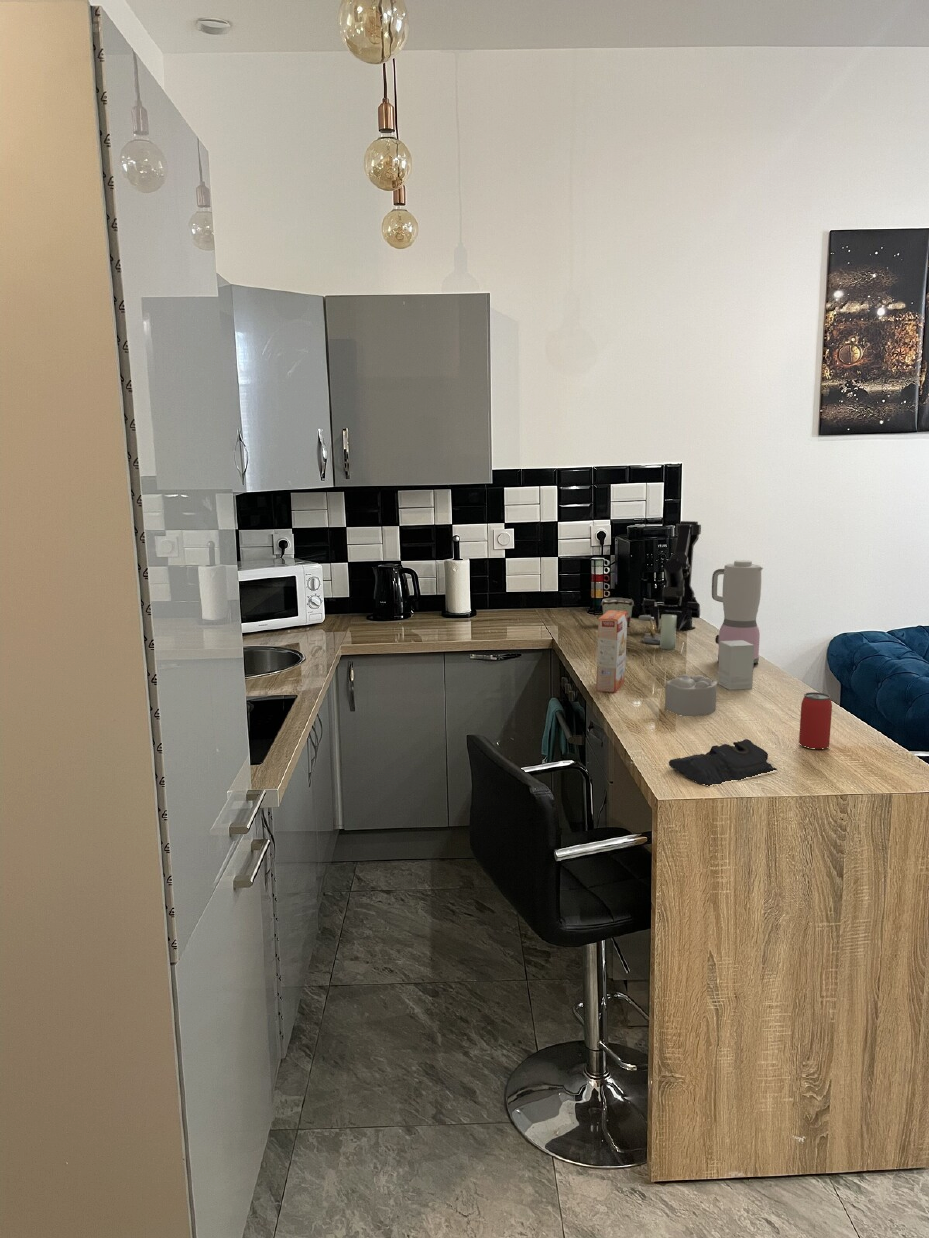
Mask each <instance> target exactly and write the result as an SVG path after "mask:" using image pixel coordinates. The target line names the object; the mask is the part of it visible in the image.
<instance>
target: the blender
mask: <svg viewBox="0 0 929 1238" xmlns="http://www.w3.org/2000/svg"><path fill="white" fill-rule="evenodd" d="M763 569H764V568H763V567H762V566H761V565H759V564H755V563H754V564H753V562H752V561H751V560H747V559H746V560H745V559H738V560H737V559H735V560H734V562H733V563H725V565H724V568H718V569H717V568H716V570H714V571H713V573H712V577H711V598H712V599H713V600H714V601H716V602H719V603H722V606H723V622H722V624H721V626H720V628H719V630H718V631H719V633H718V634H717V635H716V636H715V640H714V642H715V644H717V645H718V654H717V661H718V664H719V647H720V641H734V640H744V641H746V642H748V643H750V644H753V645H754V663H753V664H757V665H758V664H759V662H760V661H759V660H760V655H759V654H760V653H759V651H760V638H761V636H760V635H761V633H760V628H759V626H758V624H757V615H758V611H759V606H760V603H761V595H762V571H763ZM720 575H723V578H722V596H720V595H718V581H719V576H720Z"/></svg>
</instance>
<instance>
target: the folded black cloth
mask: <svg viewBox="0 0 929 1238" xmlns="http://www.w3.org/2000/svg"><path fill="white" fill-rule="evenodd" d="M768 757H769V753H768V752H767V751H766V750H765V749H763V748H762V747H760V746H758V745H756V744H754V743H753V742H752V741H751V740H750V739H748V738H746V739H743V740H741V741H733V745H731V744H726V743H724V744H721V745H717V744H716V745H712V746H711V747H710V750H709V751H708V752H707V753H706V754H705V753H701V754H693V755H689V756H684V757H681V758H680V757H676V758H673V759H670V760H669V761H668V766H670V768H672V769H674V770H676V771H677V772H679V773H681V774H682V775H684V776H686V778H688V779H690V780H691V781H693V780H694V781H693V782H695V781H696V782H697V783H696V782H695V783H696V784H698V783H700V784H699V785H701V784H705V785H708V786H710V785H712V784H721V783H722V782H725V781H731V780H741V779H744V778H746V777H752V776H755V775H758V774H761V773H767V772H770V771H773V770H777V771H778V768H776V767H774V766H772V763H770V762H768V759H769V758H768ZM773 767H774V768H773ZM721 785H722V784H721ZM708 786H707V787H708Z"/></svg>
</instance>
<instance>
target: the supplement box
mask: <svg viewBox="0 0 929 1238" xmlns="http://www.w3.org/2000/svg"><path fill="white" fill-rule="evenodd" d="M718 649H719V663H718V673H717V684H718V685H720V686H721V687H723V688H725V689H727V690H728V691H729V690H730V691H735V690H751V689H753V681H754V664H755V663H754V645H753V644H750V643H748V642H746V641H744V640H734V641H720V647H719V646H718Z"/></svg>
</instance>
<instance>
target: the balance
mask: <svg viewBox="0 0 929 1238" xmlns="http://www.w3.org/2000/svg"><path fill="white" fill-rule="evenodd" d="M638 620H640V621H645V622H646V621H647V622H649V624H650V626H649V627H650V632H645V633H644V636H643V638H642V641H643V643H644V644H647V643H649V644H648V645H656V646H657V645H659V646H660V635H661V634H660V633H658V632H656V631H655V628H656V625H654V622H655V619H654V617H651V616H650V615H645V614H642V615H639V616H638Z"/></svg>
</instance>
